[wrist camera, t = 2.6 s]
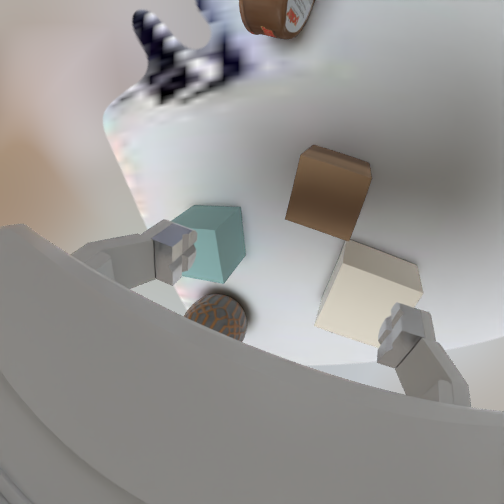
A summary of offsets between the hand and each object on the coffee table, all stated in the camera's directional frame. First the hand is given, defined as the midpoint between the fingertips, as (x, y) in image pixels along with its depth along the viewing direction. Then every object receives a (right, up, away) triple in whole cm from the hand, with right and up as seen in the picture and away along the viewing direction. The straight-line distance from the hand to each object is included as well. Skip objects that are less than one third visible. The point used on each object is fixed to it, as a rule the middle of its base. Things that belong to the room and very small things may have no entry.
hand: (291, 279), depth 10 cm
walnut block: (+5, +7, +10) cm, 13 cm away
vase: (-4, -6, +22) cm, 23 cm away
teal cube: (-5, +3, +17) cm, 18 cm away
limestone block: (+9, -2, +13) cm, 16 cm away
